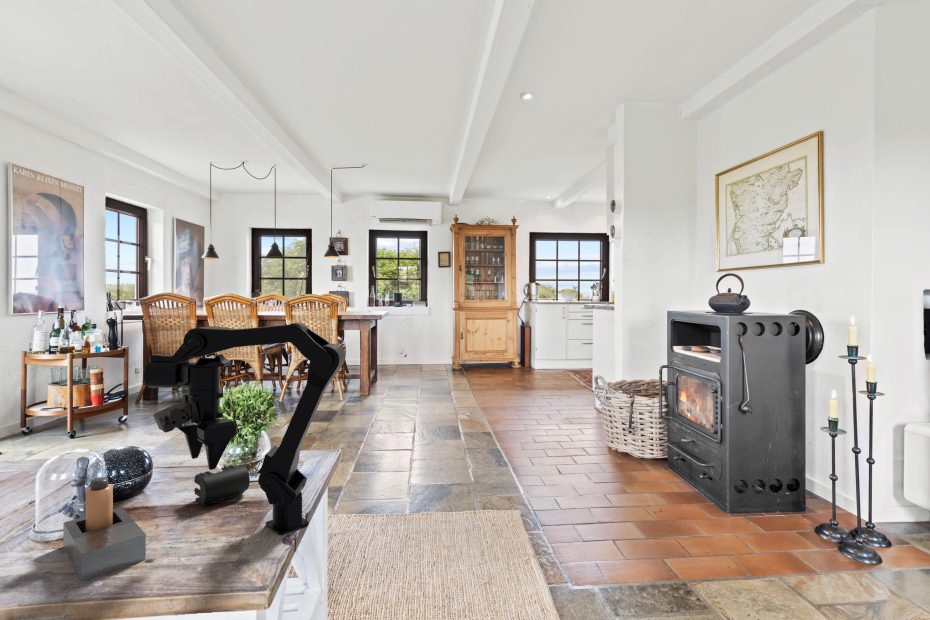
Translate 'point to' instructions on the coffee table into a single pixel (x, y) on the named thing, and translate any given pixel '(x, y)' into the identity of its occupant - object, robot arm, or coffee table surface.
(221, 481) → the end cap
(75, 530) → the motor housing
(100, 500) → the plug
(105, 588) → the coffee table surface
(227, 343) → the robot arm
